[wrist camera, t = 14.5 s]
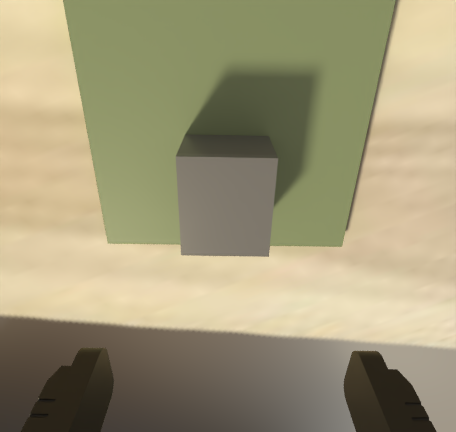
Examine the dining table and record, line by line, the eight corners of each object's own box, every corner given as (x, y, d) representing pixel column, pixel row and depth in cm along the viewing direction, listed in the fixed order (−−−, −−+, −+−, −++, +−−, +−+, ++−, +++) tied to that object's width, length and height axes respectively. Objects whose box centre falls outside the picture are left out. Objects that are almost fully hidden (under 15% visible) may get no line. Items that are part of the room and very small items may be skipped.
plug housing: (185, 134, 24) (175, 156, 19) (268, 136, 24) (278, 158, 19) (188, 219, 27) (181, 255, 23) (261, 220, 27) (268, 256, 23)
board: (45, -145, 18) (34, -156, 17) (415, -135, 18) (427, -145, 17) (112, 236, 29) (107, 243, 28) (337, 239, 29) (342, 246, 28)
